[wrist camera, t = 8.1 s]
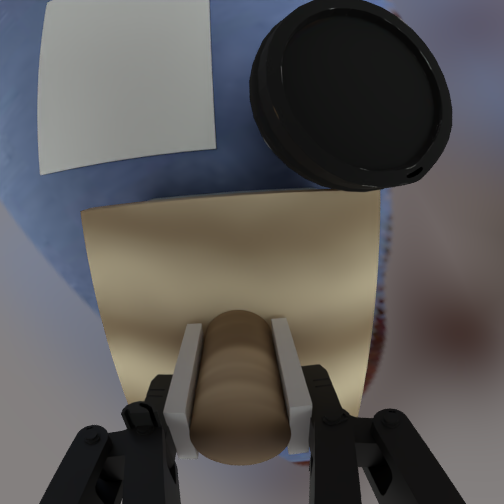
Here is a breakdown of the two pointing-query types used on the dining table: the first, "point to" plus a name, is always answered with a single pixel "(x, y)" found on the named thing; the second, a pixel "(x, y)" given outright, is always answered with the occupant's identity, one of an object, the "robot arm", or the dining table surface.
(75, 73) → the mat
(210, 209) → the lid
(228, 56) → the dining table surface
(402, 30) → the coffee cup
